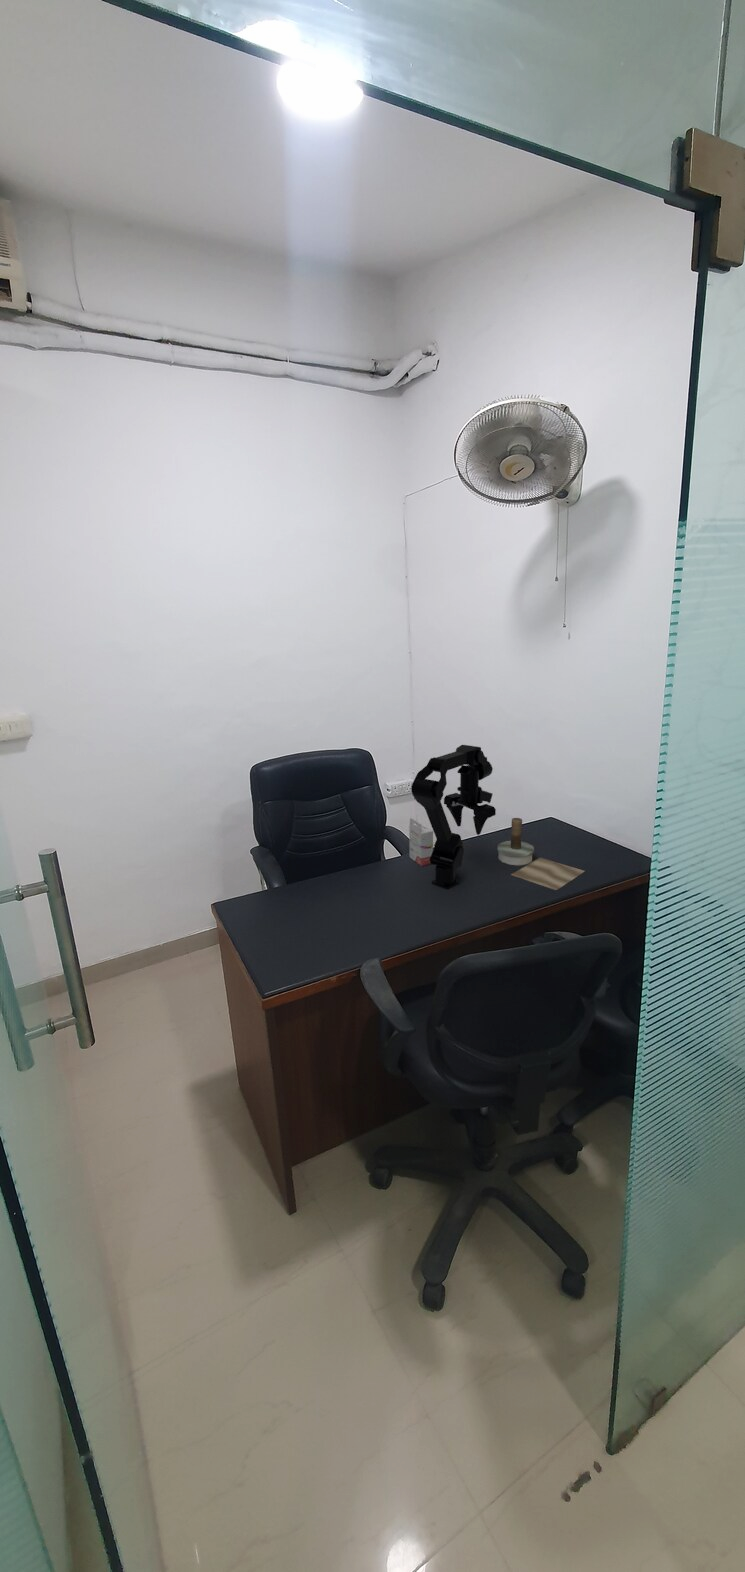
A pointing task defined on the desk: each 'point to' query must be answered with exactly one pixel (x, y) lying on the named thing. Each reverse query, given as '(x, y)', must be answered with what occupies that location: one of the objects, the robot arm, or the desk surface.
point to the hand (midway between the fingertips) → (468, 830)
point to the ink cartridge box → (420, 842)
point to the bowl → (515, 859)
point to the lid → (516, 842)
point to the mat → (548, 873)
